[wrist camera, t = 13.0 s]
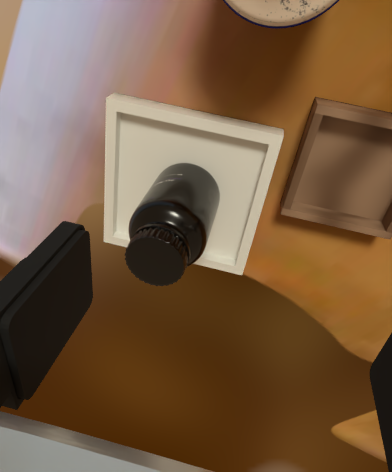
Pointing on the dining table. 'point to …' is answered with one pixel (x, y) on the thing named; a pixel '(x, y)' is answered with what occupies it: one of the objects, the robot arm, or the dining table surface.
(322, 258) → the dining table surface
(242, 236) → the tray
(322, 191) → the holder
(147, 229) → the supplement bottle
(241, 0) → the teacup with lid
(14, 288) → the robot arm
